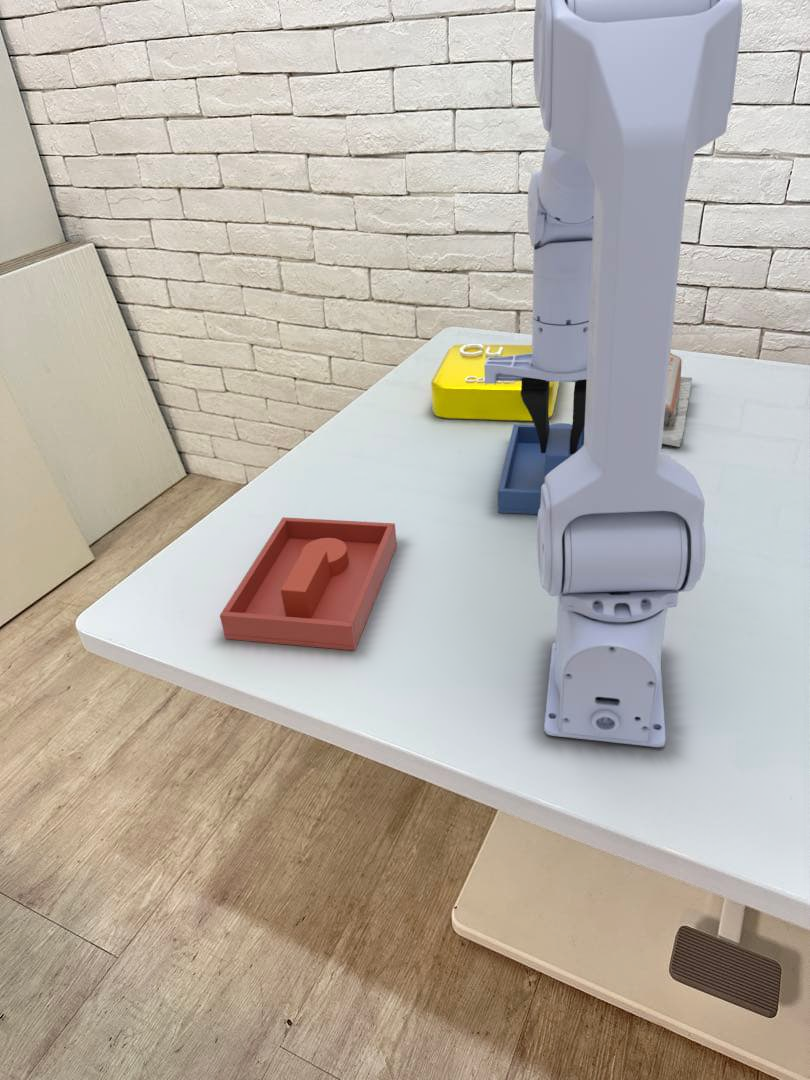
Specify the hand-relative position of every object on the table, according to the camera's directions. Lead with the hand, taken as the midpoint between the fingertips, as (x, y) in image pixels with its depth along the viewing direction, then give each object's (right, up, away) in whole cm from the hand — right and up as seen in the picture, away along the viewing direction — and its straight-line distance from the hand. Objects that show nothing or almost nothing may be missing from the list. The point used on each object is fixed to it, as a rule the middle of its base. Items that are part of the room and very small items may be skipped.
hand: (559, 449), depth 80 cm
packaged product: (+13, +6, +16) cm, 22 cm away
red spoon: (-23, -13, -9) cm, 28 cm away
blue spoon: (0, -1, +1) cm, 2 cm away
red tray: (-23, -13, -9) cm, 28 cm away
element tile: (-3, +9, +24) cm, 26 cm away
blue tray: (+1, -3, +5) cm, 5 cm away
